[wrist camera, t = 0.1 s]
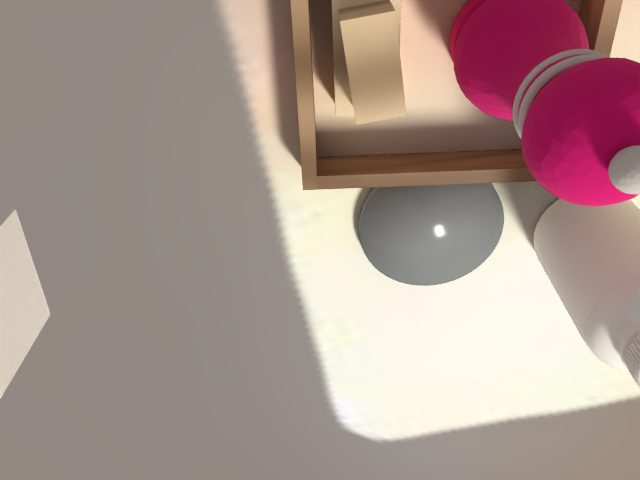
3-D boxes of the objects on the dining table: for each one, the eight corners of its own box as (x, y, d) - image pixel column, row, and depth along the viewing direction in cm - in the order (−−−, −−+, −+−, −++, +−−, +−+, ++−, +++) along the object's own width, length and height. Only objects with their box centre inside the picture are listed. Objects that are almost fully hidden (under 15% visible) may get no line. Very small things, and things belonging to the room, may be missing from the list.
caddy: (285, -119, 32) (282, -118, 29) (628, -137, 32) (654, -137, 29) (303, 170, 42) (302, 190, 39) (564, 160, 42) (580, 179, 39)
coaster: (358, 161, 42) (359, 166, 41) (510, 155, 41) (513, 160, 41) (359, 281, 48) (359, 287, 47) (491, 277, 47) (494, 283, 47)
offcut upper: (338, 9, 33) (339, 21, 31) (389, -1, 33) (395, 10, 30) (353, 106, 37) (356, 124, 34) (400, 98, 36) (406, 116, 34)
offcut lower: (330, -26, 35) (331, -17, 32) (395, -29, 35) (401, -21, 32) (334, 101, 39) (335, 117, 37) (392, 98, 39) (397, 114, 37)
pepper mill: (419, 57, 37) (499, 214, 21) (489, -50, 34) (653, 36, 17) (505, 109, 39) (642, 291, 23) (579, 14, 36) (805, 145, 19)
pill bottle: (643, 177, 42) (780, 309, 30) (625, 264, 47) (737, 411, 34) (535, 188, 43) (624, 323, 30) (526, 273, 47) (601, 422, 35)
